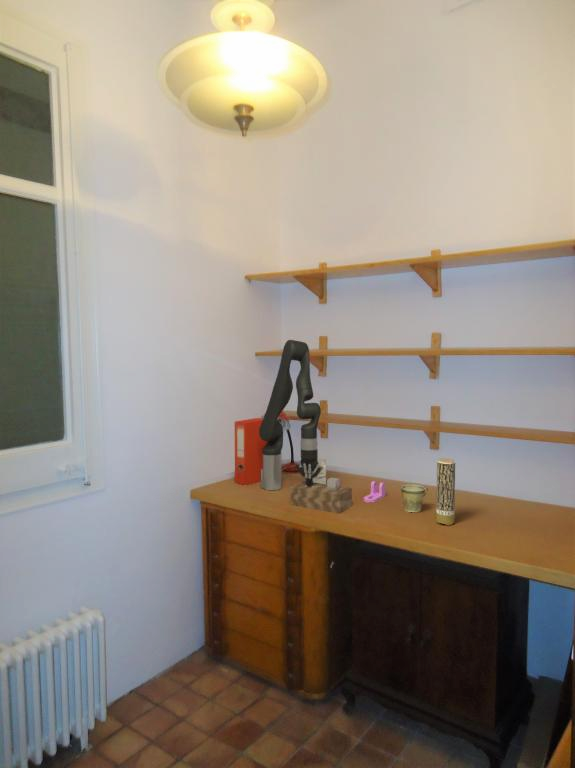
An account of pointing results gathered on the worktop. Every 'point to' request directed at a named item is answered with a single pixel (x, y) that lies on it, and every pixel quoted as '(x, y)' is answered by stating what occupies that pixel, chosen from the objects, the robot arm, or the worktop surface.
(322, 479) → the ink cartridge box
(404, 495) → the ceramic cup
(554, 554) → the worktop surface
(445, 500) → the paper tube
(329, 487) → the steel peg
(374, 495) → the bracket
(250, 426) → the file binder
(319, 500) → the walnut block
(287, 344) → the robot arm
